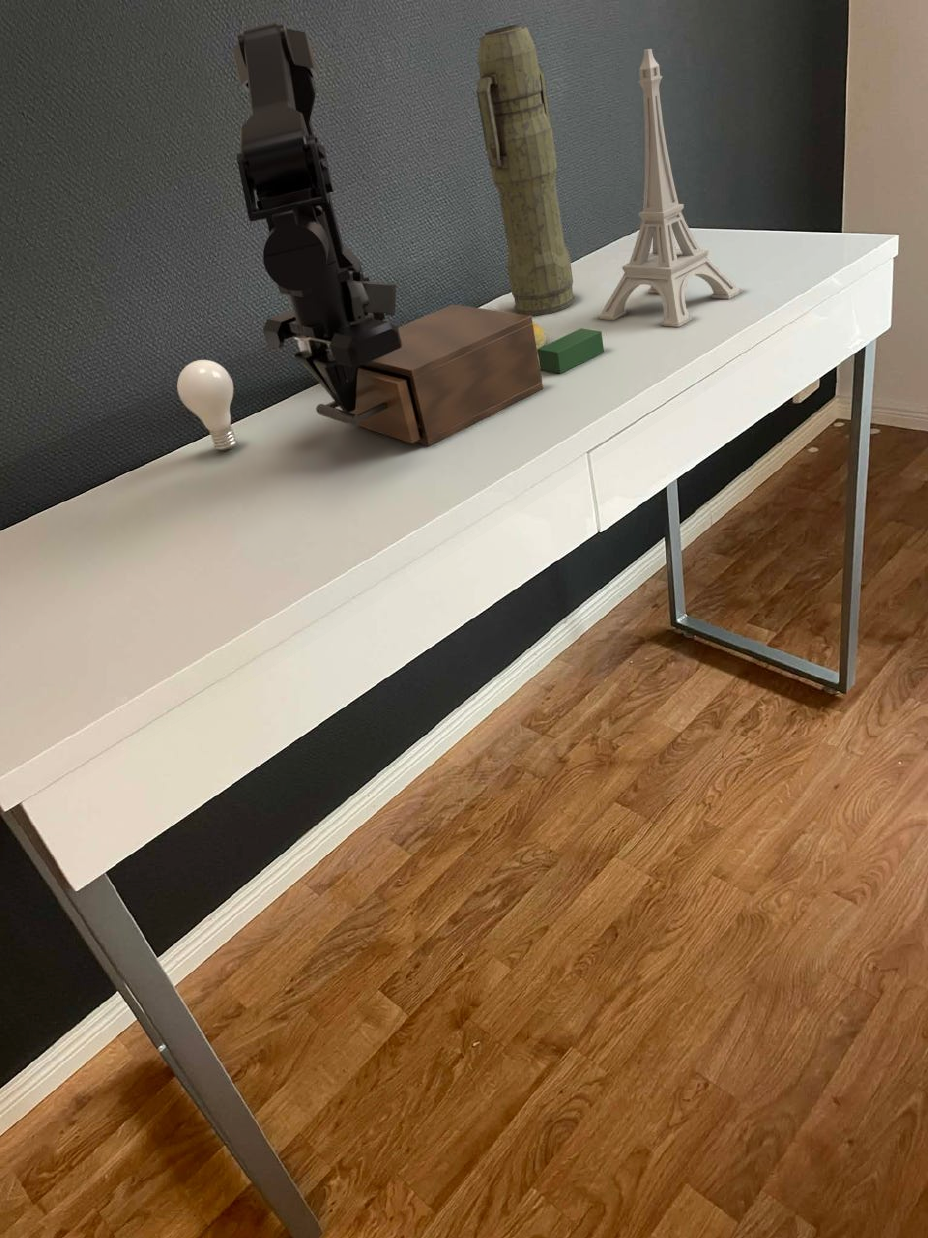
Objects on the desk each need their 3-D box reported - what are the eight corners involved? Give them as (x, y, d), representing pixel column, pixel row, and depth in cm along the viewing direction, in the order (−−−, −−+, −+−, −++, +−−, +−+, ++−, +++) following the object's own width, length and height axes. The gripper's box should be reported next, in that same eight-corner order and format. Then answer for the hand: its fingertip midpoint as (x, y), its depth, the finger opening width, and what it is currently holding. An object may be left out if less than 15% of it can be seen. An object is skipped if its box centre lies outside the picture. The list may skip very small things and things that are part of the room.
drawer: (376, 461, 102) (359, 401, 98) (312, 437, 111) (295, 381, 108) (521, 389, 111) (511, 331, 107) (450, 372, 121) (439, 319, 117)
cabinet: (429, 446, 105) (411, 370, 100) (357, 422, 115) (338, 352, 111) (543, 388, 112) (531, 315, 108) (466, 371, 123) (452, 303, 118)
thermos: (592, 291, 141) (557, 14, 122) (549, 319, 134) (505, 29, 115) (541, 291, 146) (500, 26, 127) (498, 318, 139) (447, 41, 120)
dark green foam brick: (560, 373, 115) (557, 352, 114) (540, 369, 118) (536, 348, 116) (604, 351, 119) (601, 331, 117) (583, 348, 121) (580, 327, 120)
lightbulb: (209, 465, 113) (175, 376, 107) (196, 451, 118) (163, 364, 112) (259, 447, 115) (229, 358, 109) (245, 433, 120) (215, 347, 114)
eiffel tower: (598, 318, 130) (567, 67, 114) (660, 286, 136) (639, 44, 120) (678, 326, 121) (657, 54, 104) (741, 292, 127) (730, 30, 111)
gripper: (426, 246, 94) (458, 396, 102) (327, 238, 107) (363, 372, 116) (332, 282, 89) (374, 437, 98) (241, 269, 103) (285, 407, 111)
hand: (349, 410), depth 106 cm, fingers closed
